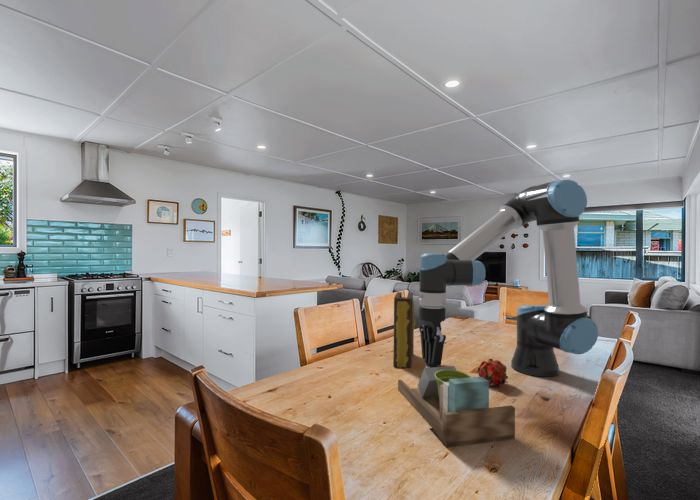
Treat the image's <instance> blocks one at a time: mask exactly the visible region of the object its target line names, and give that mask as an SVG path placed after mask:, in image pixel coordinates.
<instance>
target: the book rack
mask: <svg viewBox="0 0 700 500" xmlns="http://www.w3.org/2000/svg"><path fill="white" fill-rule="evenodd" d="M397 390H398V392H399V393H400V394H401V395H402V396H403V397H404V398H405V400H406V401H407V402H408V403H409V404H410V405H411V407H413V408H414V410H415V411H416V412H417V413H418V414H419V415H420V416H421V417H422V419H424V421H425V422H426V423H427V424H428V425H429V426H430V427H431V428H429V427H428V428H429V430H430V431H431V432H432V434H433V435H435V437H436V438H437V439H438V440H439V442H441V444H442V445H443V446H444V447H445V448H452V447H461V446H468V445H476V444H483V443H494V442H500V441H508V440H515V438H516V407H514V406H513V405H504V406H493V407H490V386H489V381H488V380H487V379H485V378H483V377H479V376H472V377H471V376H470V378H458V379H449V382H443V385H440V406H439V397H432V398H422V396H421V393H420V391H419V388H418V387H417V388H416V387H415V388H410V386H408V384H407V383H406V382H404V380H402V379H398V380H397Z"/></svg>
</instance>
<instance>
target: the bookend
mask: <svg viewBox="0 0 700 500" xmlns="http://www.w3.org/2000/svg"><path fill="white" fill-rule="evenodd" d="M439 370H456V371H458V370H457V369H456V366H454V365H453V366H452V365H449V366H448V365H447V366H437V367H432V368H426V367H424V368H423V371H422V373H421V376H420V379H419V380H418V384H417V388H419V391H420V393H421V396H422V398H432V397H439V395H438V385H437V382H436V378H435V376H434V374H435V372H437V371H439Z"/></svg>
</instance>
